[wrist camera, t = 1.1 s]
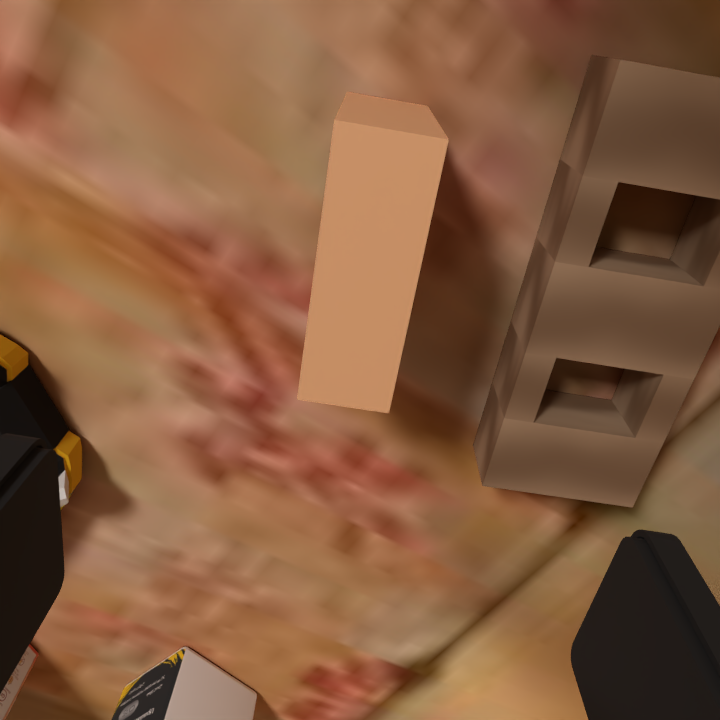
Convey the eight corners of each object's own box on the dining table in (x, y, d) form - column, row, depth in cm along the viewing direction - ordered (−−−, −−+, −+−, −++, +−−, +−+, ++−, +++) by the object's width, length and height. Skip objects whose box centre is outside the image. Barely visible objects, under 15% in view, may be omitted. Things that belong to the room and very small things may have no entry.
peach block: (347, 91, 27) (334, 119, 19) (427, 105, 27) (448, 139, 19) (317, 304, 31) (297, 399, 23) (386, 315, 32) (389, 413, 24)
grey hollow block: (591, 55, 26) (620, 59, 23) (775, 89, 26) (829, 97, 23) (473, 445, 35) (482, 485, 32) (610, 465, 36) (632, 507, 33)
